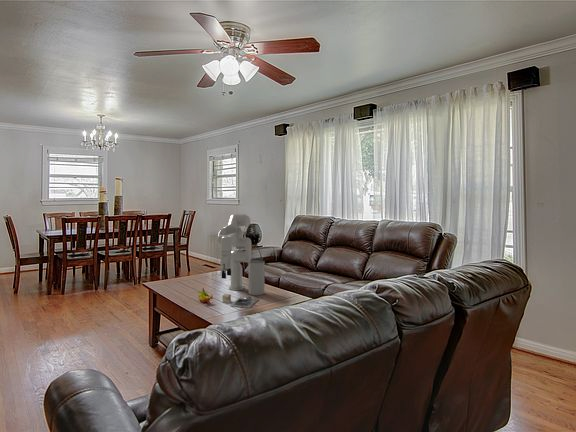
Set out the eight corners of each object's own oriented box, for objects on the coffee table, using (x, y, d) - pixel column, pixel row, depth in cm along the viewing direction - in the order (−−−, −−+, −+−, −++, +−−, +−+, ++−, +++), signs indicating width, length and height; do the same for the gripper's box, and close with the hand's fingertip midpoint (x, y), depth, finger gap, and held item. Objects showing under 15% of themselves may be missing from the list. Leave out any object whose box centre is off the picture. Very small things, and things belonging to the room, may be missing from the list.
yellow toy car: (204, 305, 260) (204, 291, 260) (194, 299, 275) (194, 286, 274) (213, 303, 264) (213, 290, 264) (203, 297, 279) (202, 284, 278)
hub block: (224, 300, 273) (224, 293, 272) (230, 300, 272) (230, 294, 271) (222, 302, 268) (222, 295, 268) (228, 302, 267) (228, 295, 267)
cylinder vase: (265, 291, 297) (265, 260, 296) (263, 295, 285) (263, 263, 283) (250, 291, 299) (250, 260, 297) (247, 295, 286) (247, 263, 285)
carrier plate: (240, 298, 278) (240, 295, 278) (258, 299, 275) (258, 296, 275) (230, 306, 259) (230, 302, 258) (249, 307, 256) (249, 304, 255)
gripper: (226, 251, 277) (226, 274, 278) (216, 255, 260) (216, 279, 261) (235, 251, 275) (235, 274, 276) (226, 255, 258) (226, 279, 259)
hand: (226, 276), depth 269 cm, fingers open, 9 cm apart
